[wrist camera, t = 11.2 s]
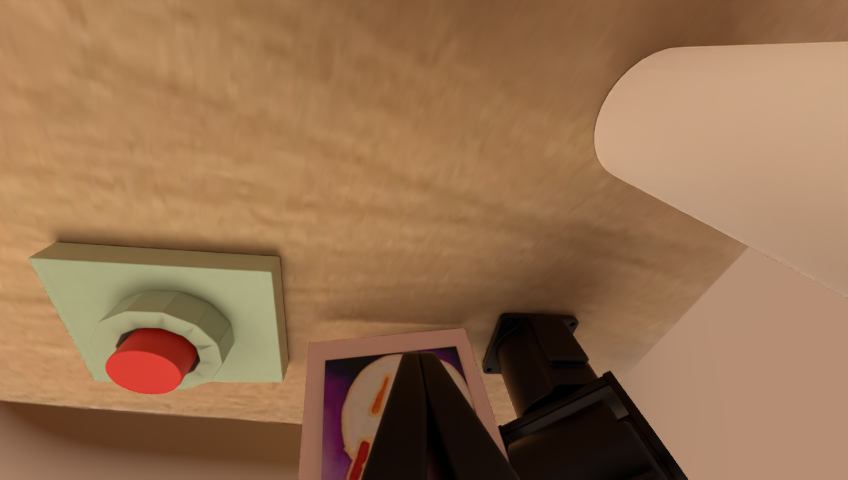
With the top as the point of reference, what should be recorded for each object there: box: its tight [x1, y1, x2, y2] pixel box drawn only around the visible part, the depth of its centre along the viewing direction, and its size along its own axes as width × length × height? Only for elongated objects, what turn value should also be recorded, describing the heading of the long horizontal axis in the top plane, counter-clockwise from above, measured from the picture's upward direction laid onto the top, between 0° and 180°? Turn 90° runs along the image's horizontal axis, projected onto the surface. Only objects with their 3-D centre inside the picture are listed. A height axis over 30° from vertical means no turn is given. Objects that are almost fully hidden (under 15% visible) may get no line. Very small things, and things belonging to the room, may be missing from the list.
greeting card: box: [299, 328, 509, 480], centre depth 20 cm, size 11×7×15 cm, turn 84°
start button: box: [105, 328, 197, 394], centre depth 18 cm, size 4×4×2 cm
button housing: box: [29, 242, 289, 389], centre depth 20 cm, size 10×12×4 cm
